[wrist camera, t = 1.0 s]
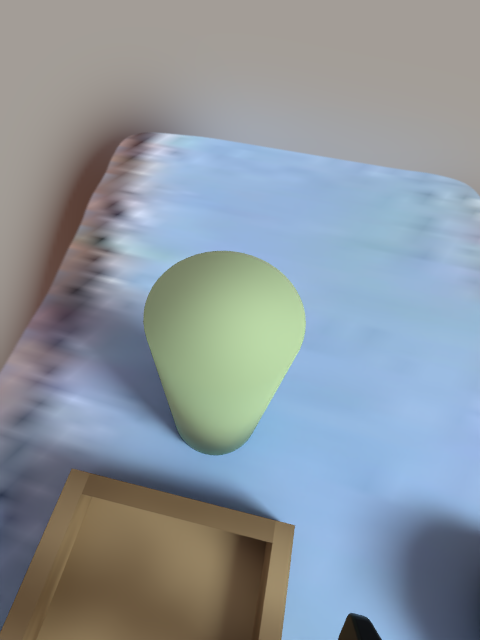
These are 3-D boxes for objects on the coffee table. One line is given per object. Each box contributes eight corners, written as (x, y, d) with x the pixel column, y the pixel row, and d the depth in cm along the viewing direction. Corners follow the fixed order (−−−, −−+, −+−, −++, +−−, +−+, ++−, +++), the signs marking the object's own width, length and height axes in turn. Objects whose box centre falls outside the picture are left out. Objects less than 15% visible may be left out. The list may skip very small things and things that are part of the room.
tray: (239, 851, 14) (247, 927, 12) (-34, 773, 15) (-86, 828, 12) (283, 523, 20) (294, 525, 18) (88, 474, 21) (71, 468, 18)
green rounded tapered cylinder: (248, 464, 22) (293, 410, 10) (162, 443, 22) (116, 367, 11) (264, 382, 24) (313, 269, 13) (188, 364, 25) (173, 237, 13)
